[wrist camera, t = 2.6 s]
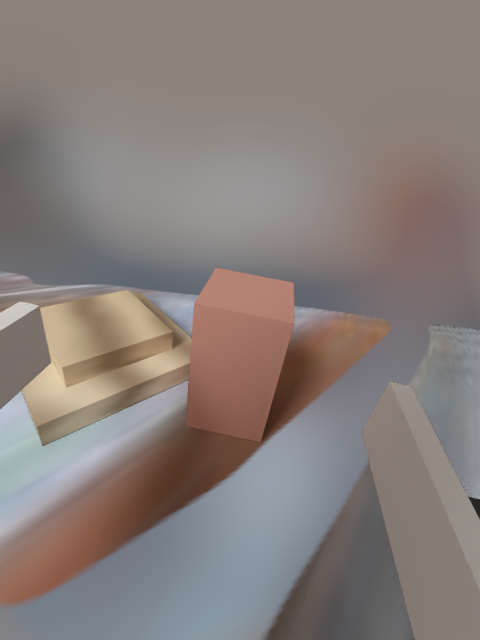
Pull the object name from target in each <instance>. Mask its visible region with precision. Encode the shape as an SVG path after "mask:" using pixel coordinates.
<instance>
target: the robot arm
mask: <svg viewBox="0 0 480 640" xmlns="http://www.w3.org/2000/svg"><path fill="white" fill-rule="evenodd" d="M50 364H51V358H50V354H49V349H48V344H47V339H46V335H45V330H44V325H43V320H42V316H41V311H40V306H38V305H33V304H29V303H24V302H18V303H17V304H15V305H13V306H12V307H10V308H8V309H6V310H5V311H3V312H1V313H0V409H1V408H2V407H3V406H5V405H6V404H7V403H8V402H9V401H10V400H11V399H12V398H13V397H14V396H16V395H17V394H18V393H19V392H20V391H21V390H22V389H23V388H24V387H25V386H27V385H28V384H29V383H30V382H31V381H32V380H33V379H34V378H35V377H36V376H37V375H39V374H40V373H41V372H42V371H43V370H44V369H45V368H46V367H47V366H48V365H50ZM362 436H363V439H364V443H365V447H366V451H367V455H368V459H369V463H370V467H371V471H372V475H373V479H374V483H375V487H376V490H377V494H378V498H379V502H380V506H381V510H382V514H383V518H384V522H385V526H386V530H387V534H388V537H389V541H390V545H391V549H392V553H393V557H394V561H395V565H396V569H397V573H398V577H399V581H400V584H401V588H402V592H403V596H404V600H405V604H406V608H407V612H408V616H409V620H410V624H411V627H412V631H413V635H414V639H415V640H480V499H475V498H471V497H468V496H467V494H466V492H465V490H464V488H463V486H462V484H461V482H460V480H459V478H458V476H457V474H456V472H455V470H454V468H453V467H452V465H451V463H450V461H449V459H448V457H447V455H446V453H445V451H444V449H443V447H442V445H441V443H440V441H439V439H438V437H437V435H436V433H435V431H434V429H433V427H432V426H431V424H430V422H429V420H428V418H427V416H426V414H425V412H424V410H423V408H422V406H421V404H420V402H419V400H418V398H417V396H416V394H415V392H414V390H413V388H412V386H408V385H403V384H399V383H393V382H389V384H388V386H387V388H386V390H385V391H384V393H383V395H382V397H381V399H380V400H379V402H378V404H377V406H376V407H375V409H374V411H373V413H372V415H371V416H370V418H369V420H368V422H367V423H366V425H365V427H364V429H363V431H362Z"/></svg>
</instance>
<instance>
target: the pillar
mask: <svg viewBox="0 0 480 640" xmlns="http://www.w3.org/2000/svg"><path fill="white" fill-rule="evenodd" d="M293 326H294V283H292V282H287V281H281V280H276V279H271V278H266V277H261V276H255V275H251V274H245V273H240V272H235V271H230V270H225V269H220V268H216V269H215V270H214V272H213V274H212V276H211V277H210V279H209V280H208V282H207V284H206V285H205V287H204V288H203V290H202V292H201V293H200V295H199V297H198V298H197V300H196V302H195V303H194V316H193V329H192V343H191V356H190V370H189V384H188V397H187V411H186V424H185V426H189V427H193V428H198V429H202V430H207V431H211V432H216V433H220V434H225V435H229V436H234V437H238V438H243V439H247V440H252V441H256V442H261V439H262V436H263V432H264V429H265V425H266V422H267V418H268V415H269V411H270V408H271V404H272V400H273V397H274V393H275V390H276V386H277V383H278V379H279V376H280V372H281V369H282V365H283V362H284V358H285V355H286V351H287V347H288V344H289V340H290V337H291V333H292V330H293Z"/></svg>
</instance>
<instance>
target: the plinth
mask: <svg viewBox="0 0 480 640" xmlns="http://www.w3.org/2000/svg"><path fill="white" fill-rule="evenodd" d="M40 311H41V316H42V320H43V325H44V330H45V335H46V339H47V344H48V349H49V354H50V358H51V364H50V365H48V366H47V367H46V368H45V369H44V370H43V371H42V372H41V373H40V374H39V375H37V376H36V377H35V378H34V379H33V380H32V381H31V382H30V383H29V384H28V385H27V386H25V387H24V388H23V389H22V390H21V391H22V394H23V396H24V399H25V401H26V404H27V407H28V409H29V412H30V414H31V417H32V420H33V422H34V425H35V427H36V430H37V433H38V435H39V438H40V440H41V443H42V445H43V446H44V445H46V444H48V443H50V442H52V441H55V440H57V439H59V438H61V437H63V436H66V435H68V434H70V433H72V432H74V431H77V430H79V429H81V428H83V427H85V426H88V425H90V424H92V423H94V422H96V421H99V420H101V419H103V418H105V417H107V416H110V415H112V414H114V413H116V412H118V411H121V410H123V409H125V408H127V407H129V406H132V405H134V404H136V403H138V402H140V401H143V400H145V399H147V398H149V397H151V396H154V395H156V394H158V393H160V392H162V391H165V390H167V389H169V388H171V387H173V386H176V385H178V384H180V383H182V382H184V381H187V380H189V370H190V356H191V343H192V338H191V337H189V336H188V335H187V334H186V333H185V332H184V331H183V330H182V329H181V328H179V327H178V326H177V325H176V324H175V323H174V322H173V321H172V320H171V319H169V318H168V317H167V316H166V315H165V314H164V313H163V312H162V311H161V310H159V309H158V308H157V307H156V306H155V305H154V304H153V303H152V302H151V301H149V300H148V299H147V298H146V297H145V296H144V295H143V294H142V293H141V292H138V293H134V294H132V293H131V292H130V291H129V290H126V291H121V292H116V293H111V294H106V295H101V296H97V297H92V298H87V299H82V300H77V301H72V302H67V303H62V304H57V305H53V306H48V307H43V308H40Z"/></svg>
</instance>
